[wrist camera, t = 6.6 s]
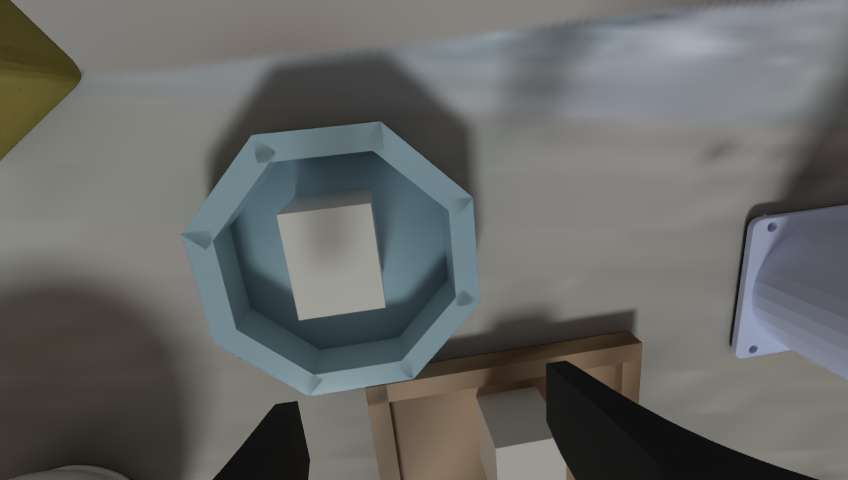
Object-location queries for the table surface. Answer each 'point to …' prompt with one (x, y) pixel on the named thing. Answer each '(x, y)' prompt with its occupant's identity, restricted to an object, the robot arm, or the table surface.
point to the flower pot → (28, 75)
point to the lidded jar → (74, 474)
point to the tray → (456, 402)
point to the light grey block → (332, 253)
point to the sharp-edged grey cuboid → (517, 437)
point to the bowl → (398, 243)
